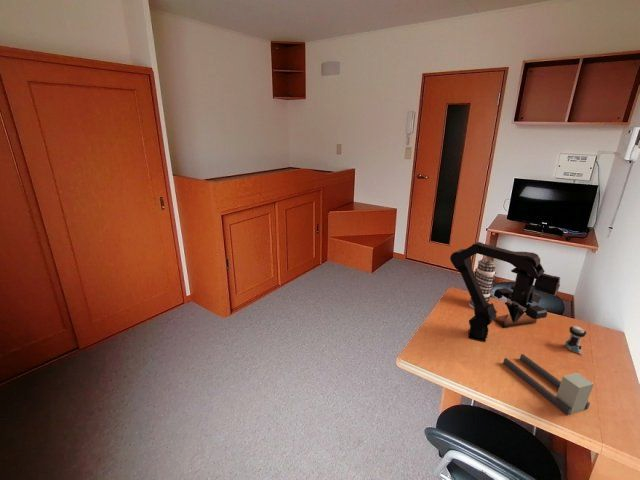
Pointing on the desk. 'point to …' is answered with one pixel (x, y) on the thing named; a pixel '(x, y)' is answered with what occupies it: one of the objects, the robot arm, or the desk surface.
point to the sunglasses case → (507, 322)
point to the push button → (575, 339)
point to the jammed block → (574, 391)
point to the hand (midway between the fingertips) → (514, 321)
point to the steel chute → (536, 385)
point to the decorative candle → (485, 277)
